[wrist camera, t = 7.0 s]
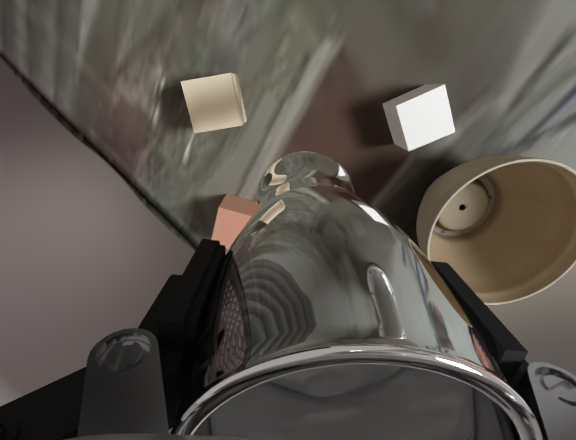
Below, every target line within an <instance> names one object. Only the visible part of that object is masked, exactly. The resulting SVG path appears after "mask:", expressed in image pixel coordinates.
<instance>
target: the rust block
mask: <svg viewBox="0 0 576 440" xmlns="http://www.w3.org/2000/svg"><path fill="white" fill-rule="evenodd" d="M256 211H257V203H256V202H254V201H250V200H247V199H243V198H240V197H236V196H232V195H229V194H226V195H225V197H224V199H223V201H222V202H221V204H220V206H219V208H218V213H217V217H216V221H215V226H214V230H213V235H212V239H211V240H219V241H220V245H225V248H227V249H229V248H230V246H231V245H232V243H233V242H234V240H235V239H236V237H237V236H238V234H239V233H240V231H241V230H242V228H243V227H244V225H245V224H246V223H247V222H248V220H249V219H250V218H251V217H252V216H253V214H254V213H255V212H256Z"/></svg>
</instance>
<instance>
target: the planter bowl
mask: <svg viewBox="0 0 576 440" xmlns="http://www.w3.org/2000/svg"><path fill="white" fill-rule="evenodd" d="M460 205H464V206H465V208H464V209H463V210H460V209H459V207H460ZM416 231H417V239H418V243H419V247H420V250H421V251H422V252H423V253H424V254H425V255H426V257H427V258H428V259H429V261H436V262H446V263H448V264H449V265H450V266H451V267H452V268H453V269H454V270H455V271H456V273H457V274H458V275H459V276H460V277H461V278H462V279H463V280H464V281H465V283H466V284H467V285H468V286H469V287H470V288H471V289H472V290H473V291H474V293H475V294H476V295H477V296H478V297H479V298H480V299H481V300H482V301H483V303H484V304H485V305H495V304H504V303H510V302H514V301H518V300H521V299H524V298H527V297H529V296H532V295H534V294H537V293H538V292H540V291H542V290H544V289H546V288H548V287H549V286H551V285H552V284H553V283H555V282H556V281H557V280H559V279H560V278H561V277H562V276H563V275H565V274H566V273H567V272H568V271H569V270H570V269H571V268H572V267H573V266H574V264H575V263H576V171H575V170H573V169H572V168H570V167H568V166H566V165H564V164H562V163H559V162H556V161H552V160H548V159H543V158H533V157H521V156H490V157H484V158H479V159H475V160H471V161H468V162H466V163H463V164H461V165H459V166H457V167H455V168H453V169H451V170H449V171H448V172H446V173H445V174H443V175H441V176H440V177H438V178H437V179H436V180H435V181H434V182H433V183H432V184H431V185H430V186H429V187H428V189H427V190H426V192H425V194H424V196H423V199H422V202H421V204H420V207H419V210H418V215H417V222H416Z"/></svg>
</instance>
